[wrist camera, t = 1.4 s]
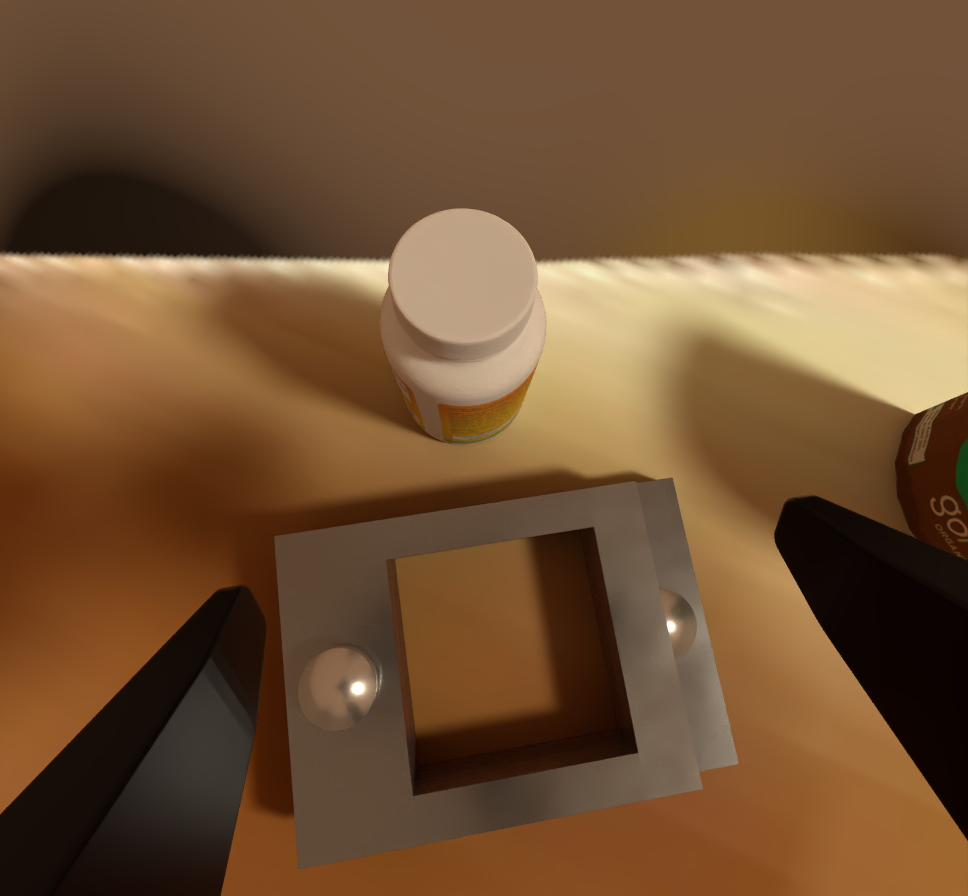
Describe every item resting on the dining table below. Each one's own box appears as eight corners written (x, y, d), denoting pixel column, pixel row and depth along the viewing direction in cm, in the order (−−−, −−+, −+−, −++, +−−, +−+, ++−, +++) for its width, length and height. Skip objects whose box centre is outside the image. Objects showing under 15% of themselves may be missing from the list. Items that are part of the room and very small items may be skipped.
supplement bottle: (543, 367, 23) (599, 238, 13) (488, 468, 22) (506, 406, 12) (441, 314, 23) (425, 151, 14) (381, 411, 22) (320, 307, 13)
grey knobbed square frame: (661, 481, 22) (693, 470, 19) (722, 750, 20) (770, 788, 17) (295, 537, 21) (265, 535, 18) (319, 829, 19) (290, 885, 16)
